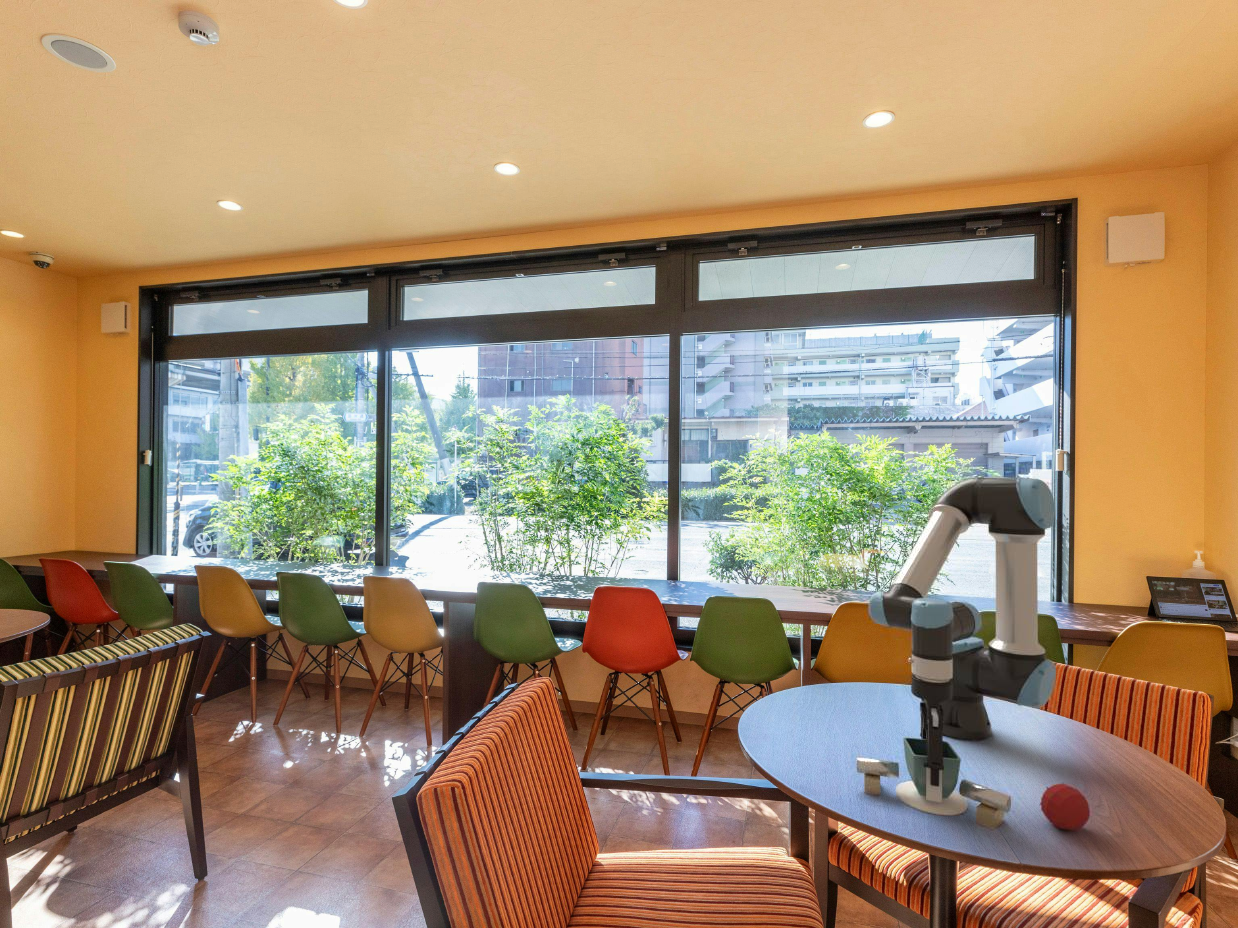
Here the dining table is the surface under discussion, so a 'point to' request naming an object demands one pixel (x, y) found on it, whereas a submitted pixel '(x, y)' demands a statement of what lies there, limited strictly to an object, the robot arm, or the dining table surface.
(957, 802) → the seat pad
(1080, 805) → the tomato
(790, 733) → the dining table surface
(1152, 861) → the dining table surface
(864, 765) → the shaft
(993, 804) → the shaft
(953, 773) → the flower pot
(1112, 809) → the dining table surface
